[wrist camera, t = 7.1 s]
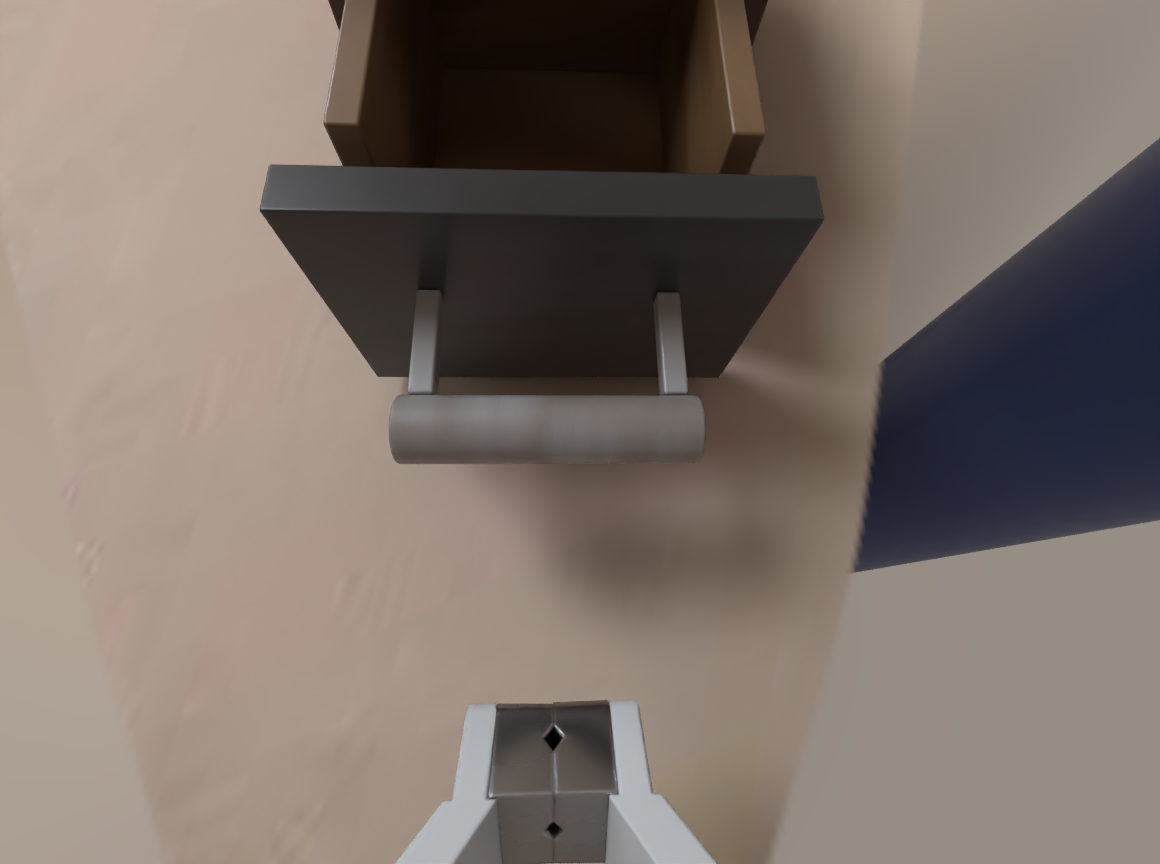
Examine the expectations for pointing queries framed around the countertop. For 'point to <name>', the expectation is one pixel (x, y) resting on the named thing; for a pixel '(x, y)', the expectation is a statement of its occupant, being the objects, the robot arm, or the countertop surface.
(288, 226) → the drawer
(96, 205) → the countertop surface
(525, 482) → the countertop surface
